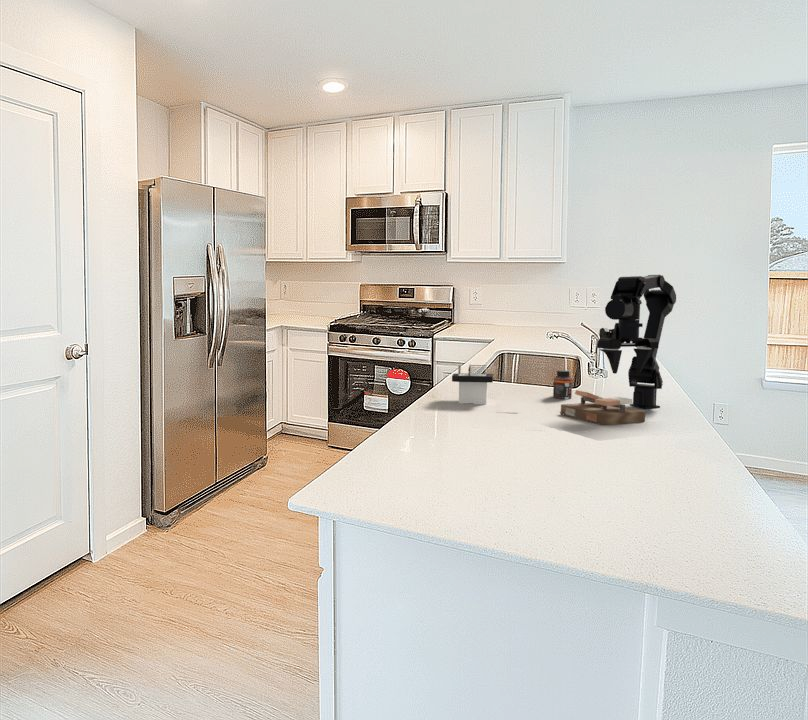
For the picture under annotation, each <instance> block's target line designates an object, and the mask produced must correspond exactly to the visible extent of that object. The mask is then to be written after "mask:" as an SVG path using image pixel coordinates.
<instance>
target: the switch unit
mask: <svg viewBox="0 0 808 720" xmlns="http://www.w3.org/2000/svg"><path fill="white" fill-rule="evenodd" d="M583 398H584V397H582V396H580V403H578V402H577V403H565V404H560V415H561V414H564V415H563V416H565V415H566V416H565V417H569V418H574V419H578V420H582V421H585V422H590V423H592V424H593V423H594V424H598V425H602V426H608V425H609V426H610V425H619V424H620V425H621V424H633V423H642V422H643V423H644V422H645V421H646V410H641V409H637V408H631V407H627V406H626V404H622V405H620V408H617V407H613V406H604V405H599V404H595V403H593V402H586V401H584V400H583Z"/></svg>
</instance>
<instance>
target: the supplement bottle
mask: <svg viewBox="0 0 808 720" xmlns="http://www.w3.org/2000/svg"><path fill="white" fill-rule="evenodd" d="M572 389H573V379H572V377H570V371H569V370H566V369H565V370H564V369H563V370H562V369H561V370H556V376H554V378H553V390H552V398H554V399H556V400H557V399H558V400H572V397H573V394H572V393H573V390H572Z"/></svg>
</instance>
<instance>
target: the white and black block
mask: <svg viewBox="0 0 808 720" xmlns="http://www.w3.org/2000/svg"><path fill="white" fill-rule="evenodd" d="M487 366H488V365H487V364H483V365H481V364H469V366H468V373H462V364H459V365H458V366H457V367H458V368H457V373H453V374H452V376H451V382H452V383H453V382H454V383H455V382H456V383H458V404H463V403H474V404H473V405H487V402H488V383H493V382H494V373H486V372H485V371H487V370H488V369H487ZM482 367H483V369H482ZM474 368H475V372H478V373H475V372H474ZM495 413H499V412H495Z"/></svg>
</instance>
